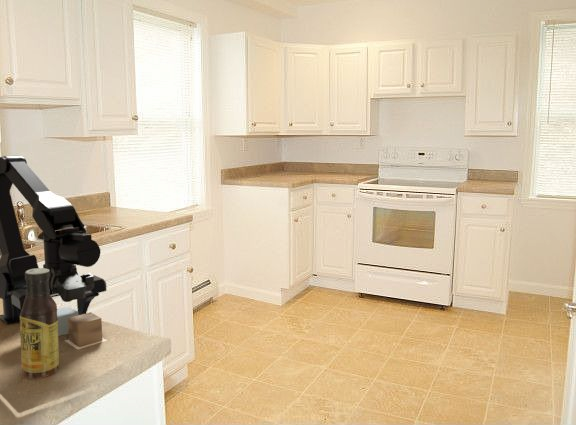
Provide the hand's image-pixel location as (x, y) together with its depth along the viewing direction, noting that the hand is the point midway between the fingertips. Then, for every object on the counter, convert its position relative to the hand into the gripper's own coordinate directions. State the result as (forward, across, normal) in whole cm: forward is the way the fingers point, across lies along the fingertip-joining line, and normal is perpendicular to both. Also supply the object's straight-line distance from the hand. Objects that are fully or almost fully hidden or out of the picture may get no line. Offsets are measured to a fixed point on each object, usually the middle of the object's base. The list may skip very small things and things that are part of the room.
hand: (63, 328), depth 113 cm
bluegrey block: (+1, 0, 0) cm, 1 cm away
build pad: (+1, +1, -9) cm, 9 cm away
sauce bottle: (+1, -11, -17) cm, 20 cm away
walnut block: (0, +1, -9) cm, 9 cm away
